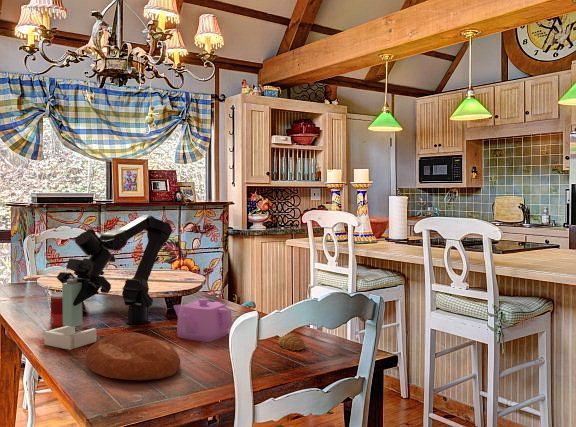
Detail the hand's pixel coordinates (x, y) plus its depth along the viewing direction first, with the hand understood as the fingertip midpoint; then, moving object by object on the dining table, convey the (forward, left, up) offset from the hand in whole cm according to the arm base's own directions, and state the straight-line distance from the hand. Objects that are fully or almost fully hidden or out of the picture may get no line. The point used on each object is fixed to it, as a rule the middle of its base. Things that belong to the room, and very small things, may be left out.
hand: (68, 304), depth 164 cm
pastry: (-44, +54, -13) cm, 70 cm away
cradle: (-1, -1, -12) cm, 12 cm away
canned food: (-10, -23, -13) cm, 28 cm away
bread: (0, +33, -13) cm, 35 cm away
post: (-1, 0, -7) cm, 7 cm away
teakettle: (-33, +23, -13) cm, 43 cm away
